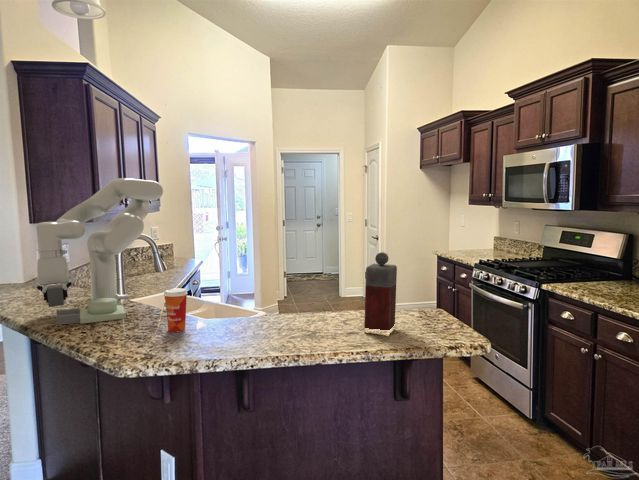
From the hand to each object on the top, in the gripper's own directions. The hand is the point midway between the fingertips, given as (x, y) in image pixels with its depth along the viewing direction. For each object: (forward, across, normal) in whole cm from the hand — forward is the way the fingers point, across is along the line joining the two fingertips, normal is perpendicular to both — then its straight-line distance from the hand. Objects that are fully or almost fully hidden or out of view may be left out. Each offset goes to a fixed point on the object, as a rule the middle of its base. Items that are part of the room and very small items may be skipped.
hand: (56, 300), depth 160 cm
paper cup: (+7, -36, +41) cm, 55 cm away
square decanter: (+9, -100, +74) cm, 125 cm away
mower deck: (+6, -11, +11) cm, 17 cm away
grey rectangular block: (+2, 0, 0) cm, 2 cm away
